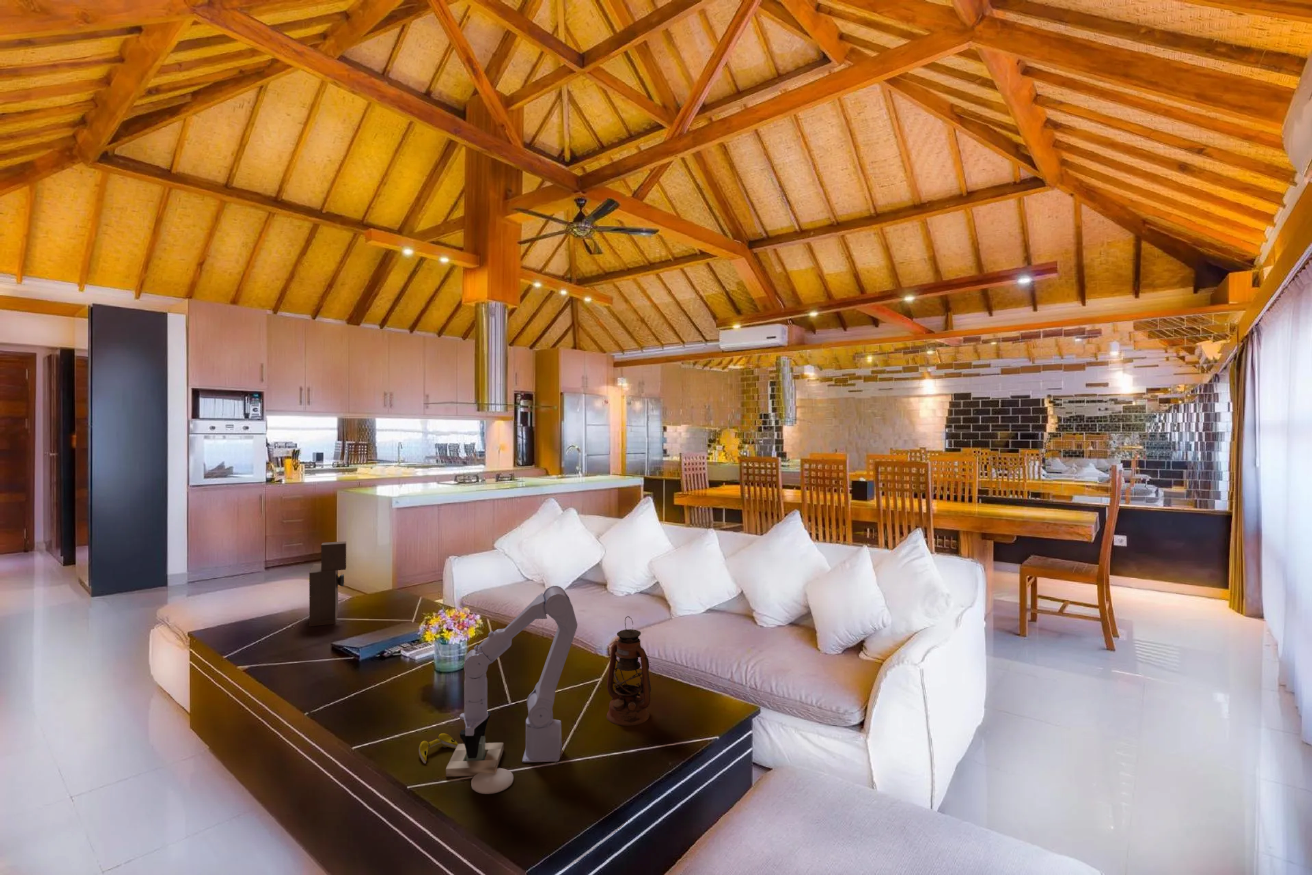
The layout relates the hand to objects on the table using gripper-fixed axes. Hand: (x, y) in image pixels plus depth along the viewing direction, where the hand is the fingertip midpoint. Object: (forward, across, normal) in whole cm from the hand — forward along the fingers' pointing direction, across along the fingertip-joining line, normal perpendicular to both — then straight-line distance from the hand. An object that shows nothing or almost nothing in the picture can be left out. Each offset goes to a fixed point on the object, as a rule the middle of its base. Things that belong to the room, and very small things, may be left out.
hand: (475, 749), depth 160 cm
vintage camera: (+4, -125, -94) cm, 156 cm away
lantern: (+4, -24, +40) cm, 47 cm away
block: (+3, 0, 0) cm, 3 cm away
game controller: (+4, -6, -12) cm, 14 cm away
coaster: (+3, +9, +6) cm, 11 cm away
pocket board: (+3, 0, 0) cm, 3 cm away
